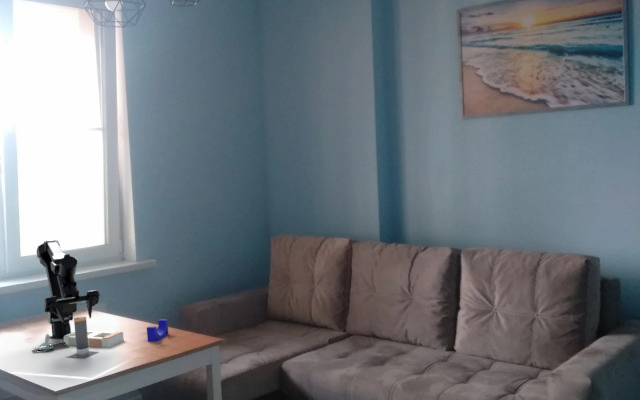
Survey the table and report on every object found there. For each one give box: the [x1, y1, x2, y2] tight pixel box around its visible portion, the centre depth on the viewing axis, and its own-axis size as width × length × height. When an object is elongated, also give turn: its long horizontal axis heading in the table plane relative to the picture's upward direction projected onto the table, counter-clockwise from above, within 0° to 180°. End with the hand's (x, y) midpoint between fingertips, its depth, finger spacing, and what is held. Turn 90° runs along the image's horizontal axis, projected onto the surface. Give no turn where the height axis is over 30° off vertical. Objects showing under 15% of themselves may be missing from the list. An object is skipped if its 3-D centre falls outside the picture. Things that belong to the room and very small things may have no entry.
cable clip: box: [146, 318, 169, 342], centre depth 255 cm, size 12×4×6 cm, turn 169°
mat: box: [65, 350, 100, 360], centre depth 236 cm, size 8×8×1 cm
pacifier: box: [36, 333, 55, 353], centre depth 245 cm, size 7×6×6 cm
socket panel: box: [63, 330, 125, 348], centre depth 252 cm, size 20×9×4 cm, turn 70°
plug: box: [73, 316, 90, 356], centre depth 235 cm, size 4×4×13 cm
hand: (77, 319), depth 239 cm, fingers open, 9 cm apart
